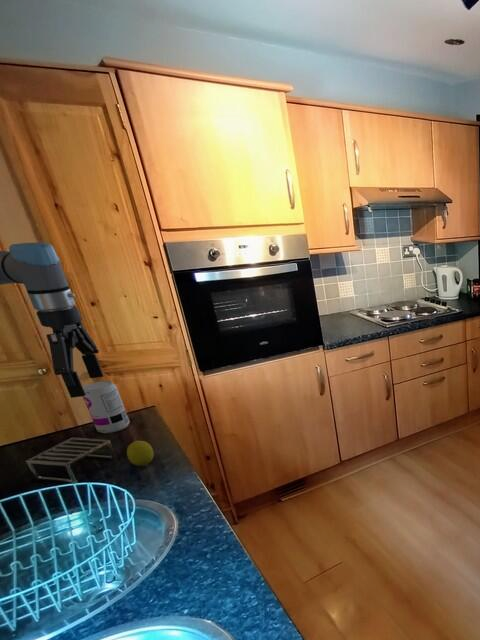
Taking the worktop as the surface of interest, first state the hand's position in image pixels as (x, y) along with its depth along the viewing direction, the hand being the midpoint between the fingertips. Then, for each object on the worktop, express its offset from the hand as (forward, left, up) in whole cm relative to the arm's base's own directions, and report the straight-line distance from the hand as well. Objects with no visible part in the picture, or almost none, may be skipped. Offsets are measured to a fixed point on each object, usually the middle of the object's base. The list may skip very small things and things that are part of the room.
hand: (88, 386), depth 120 cm
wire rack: (-4, -8, -23) cm, 24 cm away
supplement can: (-17, +15, -23) cm, 32 cm away
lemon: (+11, -3, -23) cm, 25 cm away
